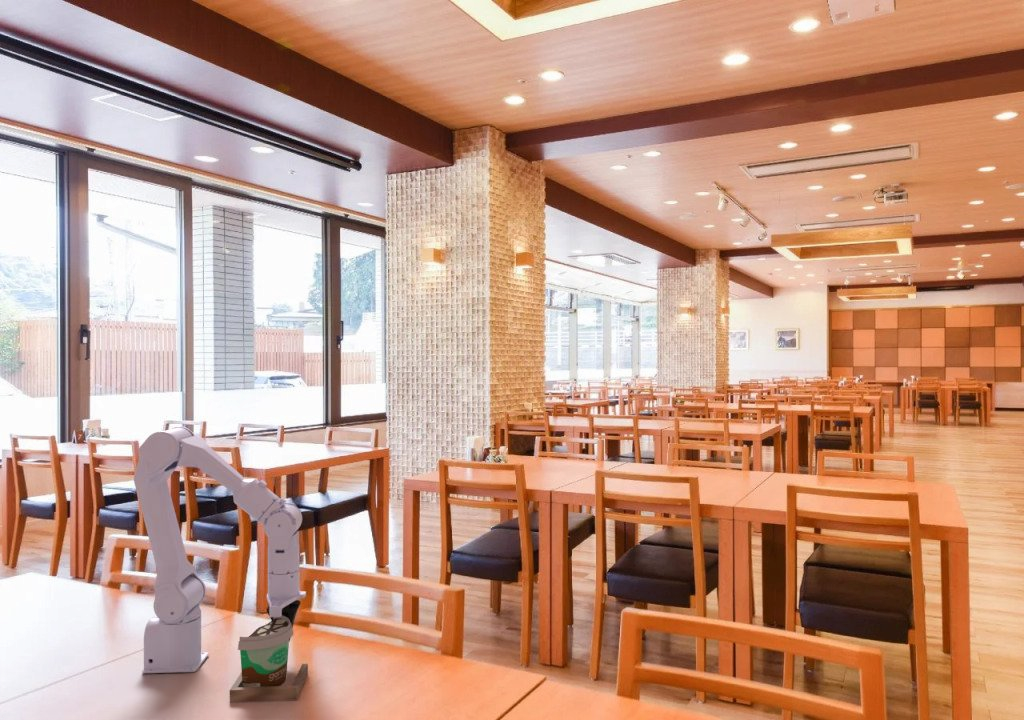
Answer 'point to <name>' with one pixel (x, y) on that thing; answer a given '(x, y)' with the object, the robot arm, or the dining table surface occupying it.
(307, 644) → the dining table surface
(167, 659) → the robot arm
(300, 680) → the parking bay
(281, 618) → the food container
